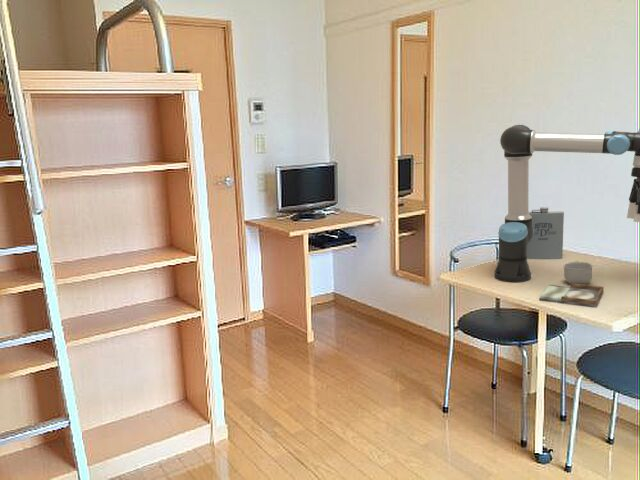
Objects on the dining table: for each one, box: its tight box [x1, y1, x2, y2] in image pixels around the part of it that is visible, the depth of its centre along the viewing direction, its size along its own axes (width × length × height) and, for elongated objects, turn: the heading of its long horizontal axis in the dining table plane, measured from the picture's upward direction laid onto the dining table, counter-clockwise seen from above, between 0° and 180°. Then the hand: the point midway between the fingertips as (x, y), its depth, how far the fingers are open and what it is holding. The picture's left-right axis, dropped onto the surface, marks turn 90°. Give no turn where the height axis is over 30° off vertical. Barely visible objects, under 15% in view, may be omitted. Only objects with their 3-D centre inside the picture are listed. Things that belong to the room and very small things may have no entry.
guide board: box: [538, 283, 604, 308], centre depth 221 cm, size 20×18×2 cm
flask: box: [527, 206, 565, 260], centre depth 272 cm, size 17×5×25 cm, turn 74°
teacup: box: [563, 260, 594, 285], centre depth 237 cm, size 14×11×8 cm
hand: (633, 220), depth 230 cm, fingers open, 13 cm apart
